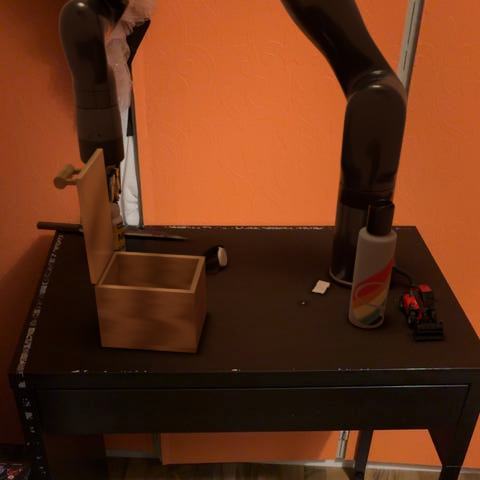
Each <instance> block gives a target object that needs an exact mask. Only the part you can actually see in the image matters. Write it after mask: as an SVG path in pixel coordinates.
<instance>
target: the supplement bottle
mask: <svg viewBox="0 0 480 480" xmlns="http://www.w3.org/2000/svg"><path fill="white" fill-rule="evenodd" d="M118 204H119V203H118ZM118 204H117V203H112V202H111V211H112V213H111V216H112V225H113V237H114V245H115V249H114V251H118V252H126V239H125V235H124V228H125V227H124V219H123V216H122V214H121V208H120V207H121V206H120V204H119V205H118Z"/></svg>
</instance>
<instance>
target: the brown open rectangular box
mask: <svg viewBox="0 0 480 480" xmlns="http://www.w3.org/2000/svg"><path fill="white" fill-rule="evenodd" d="M205 263H206V262H205V257H203V256H201V255H186V254H185V255H184V254H168V253H152V252H151V253H150V252H133V251H132V252H131V251H124V252H118V251H113V253H112V255H111V257H110V259H109V261H108V263H107V265H106V266H105V268H104V270H103V272H102V274H101V276H100V278H99V280H98V282H97V284H94V294H95V295H94V296H95V303H96V311H97V318H98V327H99V336H100V342H101V343H100V345H101V347H102V348H116V349H117V348H118V349H133V350H148V351H163V352H176V353H191V354H196V353H197V352H198V351H197V350H198V347H199V346H198V345H199V344H200V340H201V336H202V335H201V334H202V332H203V327H204V325H205V320H206V317H207V282H206V281H207V277H206V273H207V272H206V271H205Z"/></svg>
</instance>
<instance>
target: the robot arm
mask: <svg viewBox="0 0 480 480" xmlns="http://www.w3.org/2000/svg"><path fill="white" fill-rule="evenodd" d="M131 1H132V0H68V1H67V2H65V4H64V5H63V6H62V8H61V10H60V12H59V17H58V33H59V39H60V44H61V47H62V51H63V55H64V57H65V61H66V64H67V67H68V70H69V71H70V75H71V84H72V93H73V99H74V120H75V127H76V136H77V143H78V144H77V145H78V150H79V151H78V152H79V159H80V161H81V162H82V163H83V164H84V165H86V164H87V162H88V161H89V159H90V158H91V157H92V155H93V154H94V153H95V151H96V150H97V149H103V156H104V164H105V172H106V180H107V188H108V196H109V204H110V212H111V213H112V211H111V202H112V203H117V204H118V205H119V206H120V204H119V202H120V199H121V197H120V195H122V191H123V190H122V172H121V163H122V162H123V161H124V160H125V157H126V156H125V155H126V154H125V146H124V145H125V143H124V134H123V133H124V132H123V121H122V113H121V110H120V105H119V95H118V85H117V84H118V83H117V77H116V73H115V70H114V68H113V66H112V65H111V64H109V62H108V61H109V60H108V54H107V49H106V48H107V47H106V40H108V39H109V38H110V36H111V35H112V33H113V32H114V31H115V30H116V28H117V26H118V25H119V23H120V22H121V20H122V18H123V16H124V14H125V12H126V11H127V9H128V7H129V5H130V3H131ZM279 1H280V4H282V6H283V9H284V10H285V12H286V13H287V16H289V18H290V19H291V20H292V22H293V23H294V24H295V26H296V27H297V28H298V29H299V31H301V33H302V34H303V35H304V36H305V37H306V39H307V40H308V41H309V42H310V43H311V44H312V45H313V46H314V47H315V49H317V50H318V51H319V53H320V54H321V56H322V57H323V58H324V59H325V61H326V62H327V64H328V65H329V67H330V69H331V70H332V72H333V74H334V76H335V78H336V80H337V82H338V84H339V86H340V89H341V91H342V93H343V96H344V99H345V101H346V105H345V111H344V118H343V127H342V137H341V138H342V139H341V149H340V158H339V159H340V160H339V177H338V178H339V179H338V189H337V198H336V208H335V219H334V227H333V228H334V229H333V238H332V248H331V256H330V257H331V258H330V263H329V265H330V266H329V273H328V275H329V278H330V279H331V281H333V282H334V283H336V284H338V285H340V286H342V287H346V288H351V289H352V284H353V276H354V268H355V260H356V252H357V244H358V237H359V232H360V230H361V229H362V228H364V227H366V225H367V217H368V209H369V204H370V203H371V202H373V201H375V200H379V199H388V200H390V201H392V202H393V203H394V198H395V192H396V184H397V179H398V172H399V168H400V162H401V161H400V160H401V156H402V155H401V154H402V148H403V142H404V135H405V129H406V121H407V114H408V94H407V91H406V87H405V85H404V84H403V82H402V80H401V79H400V78H399V76H398V74H397V73H396V72H395V70H394V69H393V67H392V66H391V65H390V63H389V62H388V60H387V59H386V57H385V56H384V55H383V52H382V51H381V50H380V48H379V47H378V46H377V44H376V42H375V41H374V39H373V37H372V35H371V34H370V31H369V30H368V28H367V26H366V23H365V21H364V19H363V16H362V13H361V11H360V9H359V6H358V4H357V2H356V0H279ZM111 221H112V216H111ZM112 229H113V225H112ZM395 256H396V255H394V259H393V265H392V271H391V277H390V283H394V282H395V276H396V273H397V274H400V275H402V276H404V278H407V280H408V281H409V285H410V288H417V289H418V291H419V286H420V285H421V284H418V283H416V279H415V277H414V276H413V273H412V274H411V273H410V272H409V271H408V270H406V269H404V268H401V267H399V266H397V263H396V258H395ZM412 284H415V285H412Z"/></svg>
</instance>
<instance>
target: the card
mask: <svg viewBox="0 0 480 480" xmlns="http://www.w3.org/2000/svg"><path fill="white" fill-rule="evenodd" d="M330 285H331V283H330V282H327V281H323V280H320V279H318V281H317V283H316V285H315V286H314V288H313V289H312V292H313V293H320V294H324V293H325V292H326V290H327V288H330ZM300 304H302V305H304V304H305V301H303V302H302V303H300Z"/></svg>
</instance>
